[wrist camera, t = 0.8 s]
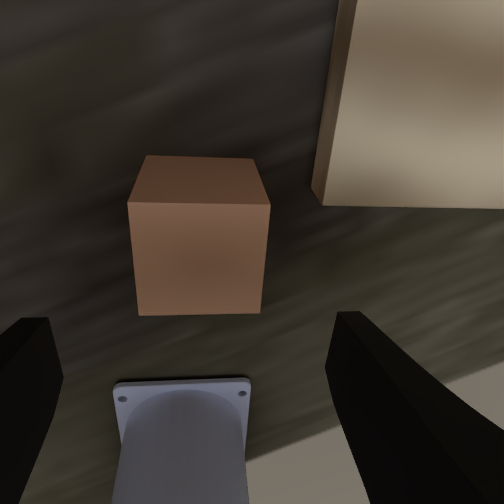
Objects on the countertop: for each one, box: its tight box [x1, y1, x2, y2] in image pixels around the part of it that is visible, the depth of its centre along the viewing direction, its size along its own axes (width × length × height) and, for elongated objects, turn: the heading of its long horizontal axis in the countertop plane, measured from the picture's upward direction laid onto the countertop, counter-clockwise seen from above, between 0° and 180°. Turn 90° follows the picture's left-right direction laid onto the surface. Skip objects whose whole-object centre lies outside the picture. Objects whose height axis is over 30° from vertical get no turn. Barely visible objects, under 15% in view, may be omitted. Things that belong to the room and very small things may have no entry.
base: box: [311, 0, 504, 209], centre depth 15 cm, size 10×10×2 cm
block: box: [127, 155, 271, 316], centre depth 16 cm, size 4×4×5 cm
